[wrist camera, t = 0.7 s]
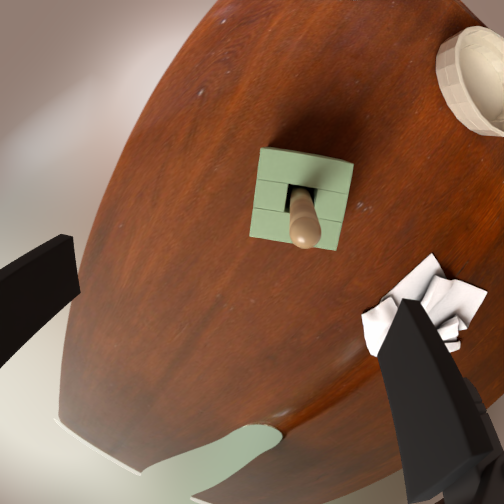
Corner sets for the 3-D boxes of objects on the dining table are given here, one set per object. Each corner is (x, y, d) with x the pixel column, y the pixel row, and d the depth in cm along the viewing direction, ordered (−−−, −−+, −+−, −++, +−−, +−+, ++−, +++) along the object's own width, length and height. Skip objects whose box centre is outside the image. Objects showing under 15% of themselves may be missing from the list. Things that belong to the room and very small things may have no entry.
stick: (291, 179, 33) (292, 218, 16) (308, 182, 33) (326, 224, 16) (289, 195, 34) (286, 250, 17) (306, 198, 34) (319, 256, 17)
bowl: (433, 22, 22) (452, 7, 16) (508, 63, 21) (531, 58, 15) (429, 114, 27) (453, 111, 22) (505, 148, 26) (531, 153, 21)
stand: (267, 146, 32) (260, 147, 26) (341, 159, 31) (354, 163, 25) (257, 218, 35) (249, 236, 29) (328, 230, 35) (336, 250, 28)
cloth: (341, 315, 39) (343, 325, 37) (463, 226, 32) (472, 231, 29) (395, 386, 43) (398, 395, 41) (494, 318, 36) (500, 325, 33)
